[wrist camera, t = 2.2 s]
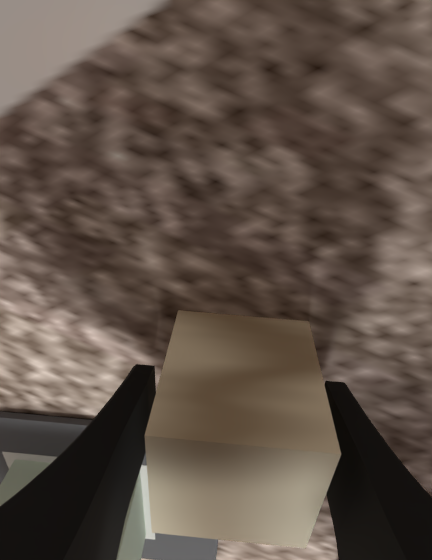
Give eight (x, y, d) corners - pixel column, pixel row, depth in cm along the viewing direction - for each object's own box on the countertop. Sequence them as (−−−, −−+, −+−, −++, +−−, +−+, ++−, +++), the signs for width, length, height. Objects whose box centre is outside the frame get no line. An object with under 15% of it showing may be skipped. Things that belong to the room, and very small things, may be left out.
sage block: (140, 471, 17) (113, 573, 14) (145, 534, 20) (126, 630, 17) (14, 459, 17) (-42, 557, 14) (39, 523, 21) (-2, 616, 17)
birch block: (308, 320, 13) (341, 454, 8) (288, 408, 15) (305, 548, 11) (178, 309, 13) (144, 435, 8) (178, 398, 15) (152, 532, 11)
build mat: (229, 432, 16) (229, 439, 16) (215, 559, 22) (215, 566, 22) (-86, 403, 16) (-92, 409, 16) (-12, 536, 22) (-16, 542, 22)
